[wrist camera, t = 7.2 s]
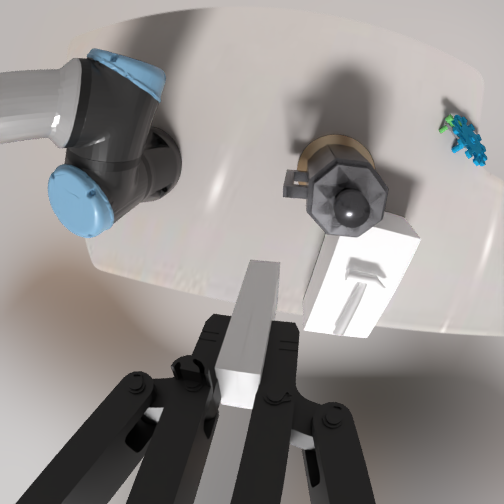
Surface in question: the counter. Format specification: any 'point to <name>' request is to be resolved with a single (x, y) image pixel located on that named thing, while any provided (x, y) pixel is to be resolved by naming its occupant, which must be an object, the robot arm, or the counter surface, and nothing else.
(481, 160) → the gear
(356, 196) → the plunger
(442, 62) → the counter surface
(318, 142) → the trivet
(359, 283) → the tissue box
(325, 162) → the carafe
